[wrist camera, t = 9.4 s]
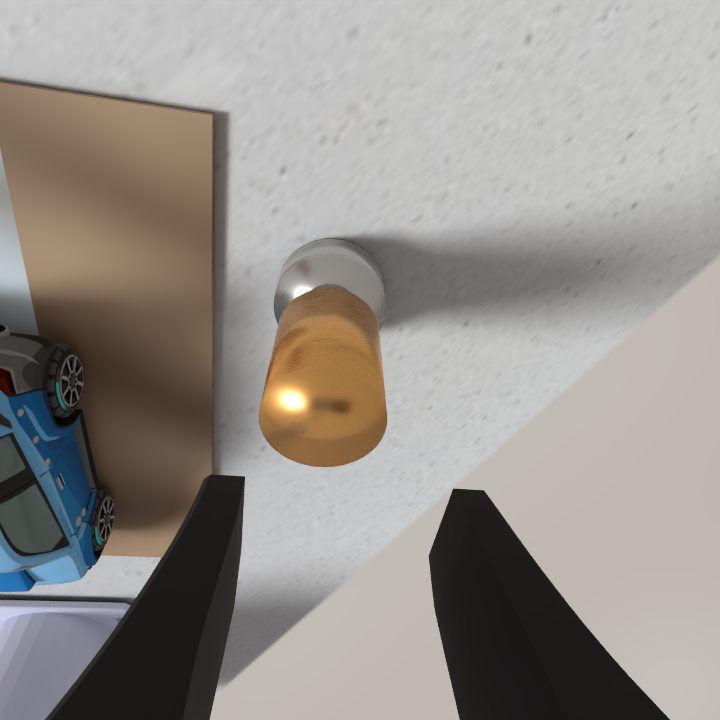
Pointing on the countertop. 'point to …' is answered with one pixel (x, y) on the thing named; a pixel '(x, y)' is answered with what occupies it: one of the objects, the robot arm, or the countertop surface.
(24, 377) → the toy car
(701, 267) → the countertop surface
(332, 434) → the coffee tamper
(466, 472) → the countertop surface
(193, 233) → the board
